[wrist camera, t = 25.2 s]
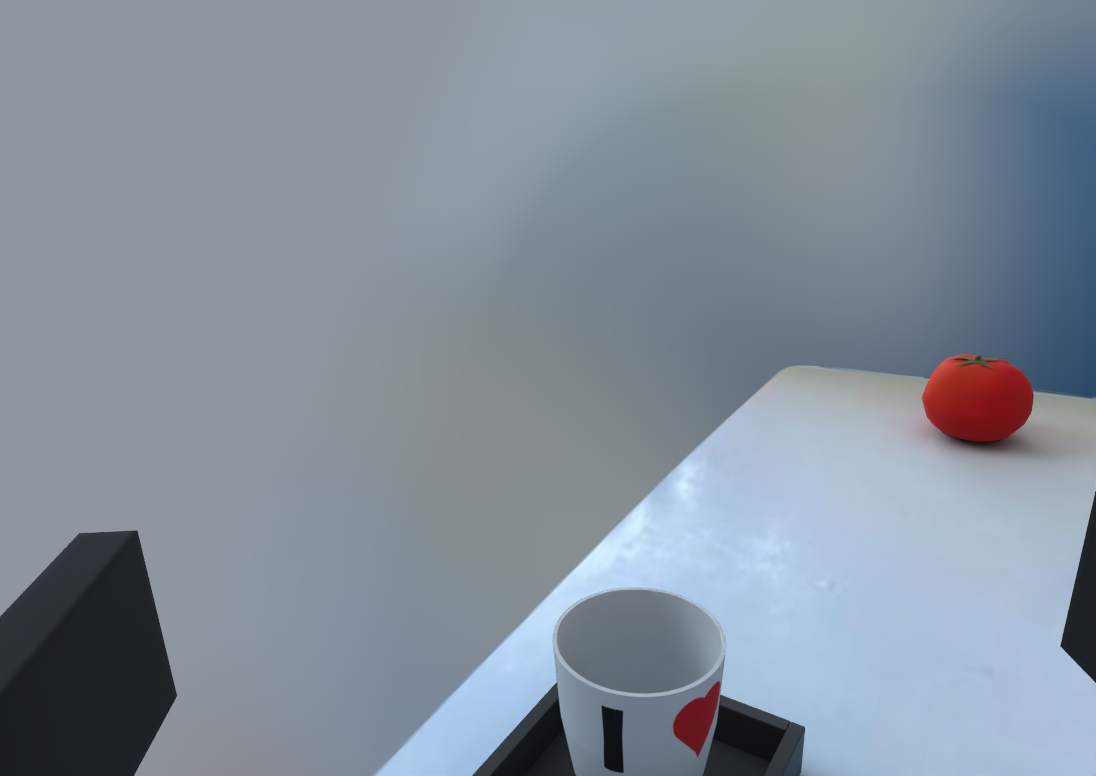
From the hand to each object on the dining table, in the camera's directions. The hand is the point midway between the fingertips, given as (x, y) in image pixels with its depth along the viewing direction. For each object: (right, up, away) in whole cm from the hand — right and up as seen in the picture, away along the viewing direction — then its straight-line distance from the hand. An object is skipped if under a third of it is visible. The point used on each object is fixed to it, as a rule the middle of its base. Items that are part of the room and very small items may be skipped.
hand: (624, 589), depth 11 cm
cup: (+4, -18, +31) cm, 36 cm away
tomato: (+42, -2, +72) cm, 83 cm away
